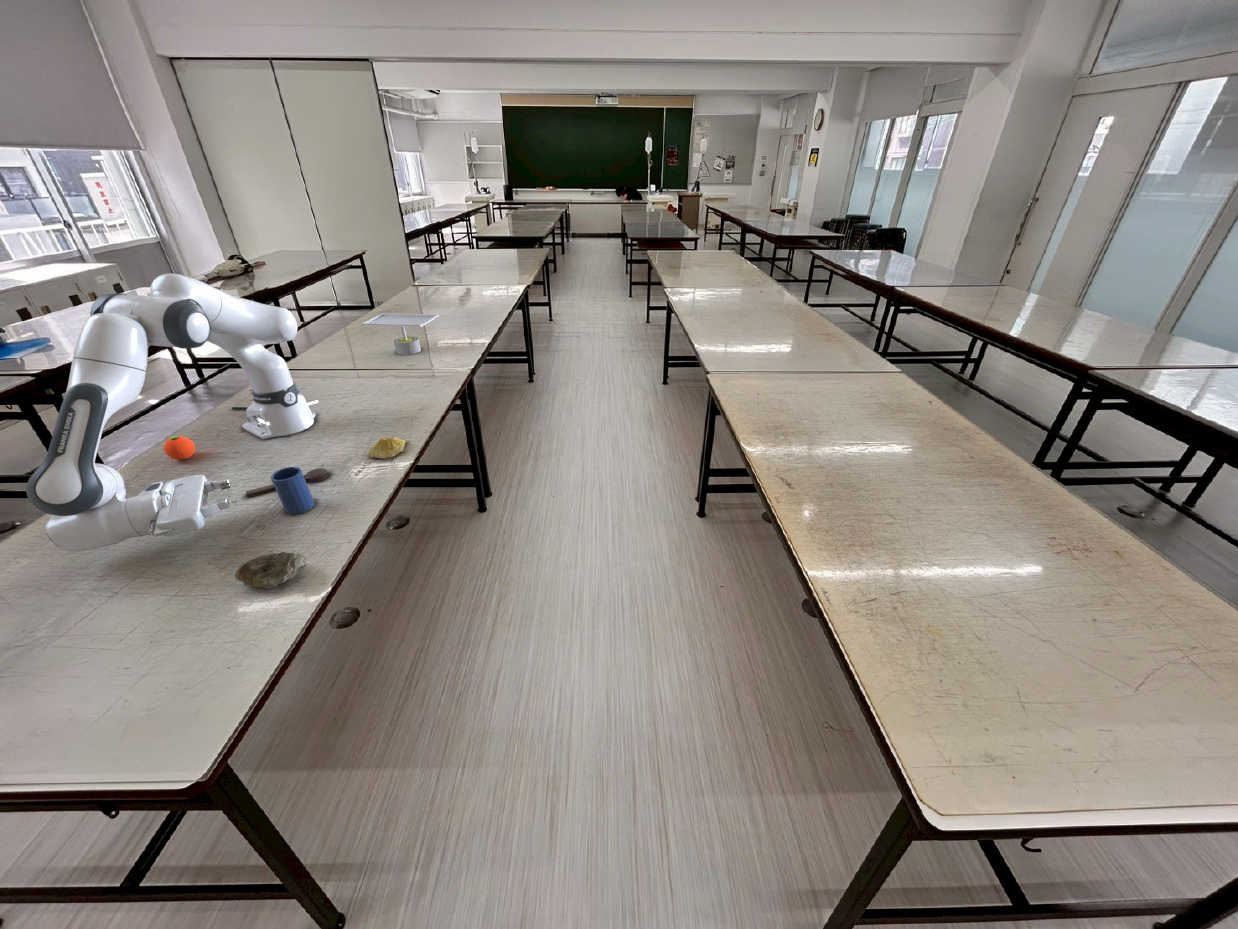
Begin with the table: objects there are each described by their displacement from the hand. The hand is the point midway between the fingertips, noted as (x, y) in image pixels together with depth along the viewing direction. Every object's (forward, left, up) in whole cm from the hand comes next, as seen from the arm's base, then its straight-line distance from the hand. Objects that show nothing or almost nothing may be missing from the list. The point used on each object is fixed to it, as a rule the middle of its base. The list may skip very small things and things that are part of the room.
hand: (228, 492), depth 116 cm
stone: (+26, -10, -9) cm, 29 cm away
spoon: (-5, +16, -9) cm, 18 cm away
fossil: (+7, +40, -9) cm, 42 cm away
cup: (+7, +10, -9) cm, 15 cm away
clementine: (-47, +14, -9) cm, 50 cm away
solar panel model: (-54, +114, -9) cm, 126 cm away
